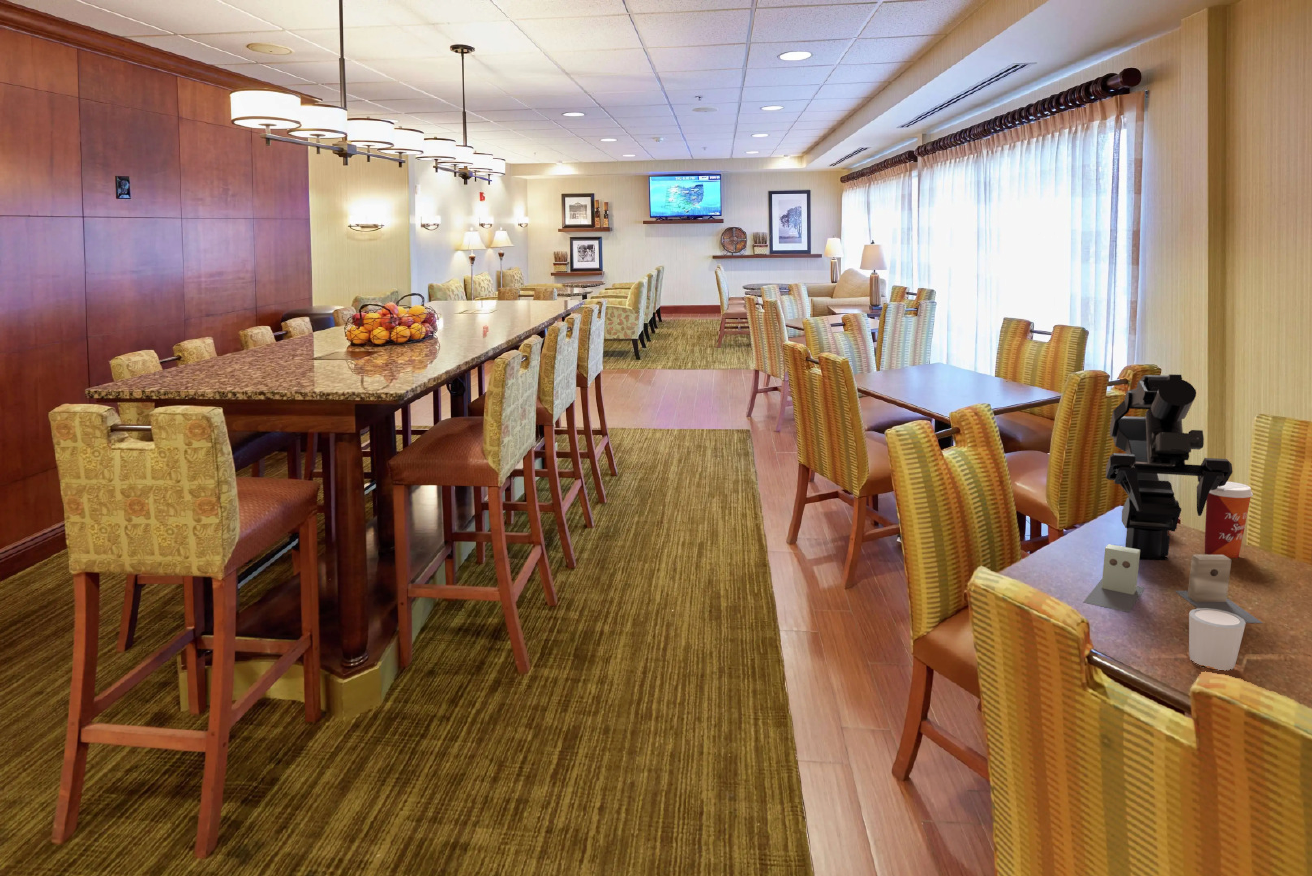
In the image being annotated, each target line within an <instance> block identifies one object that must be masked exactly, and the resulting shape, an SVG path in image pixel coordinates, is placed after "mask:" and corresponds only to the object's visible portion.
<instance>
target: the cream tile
mask: <svg viewBox="0 0 1312 876" xmlns="http://www.w3.org/2000/svg"><path fill="white" fill-rule="evenodd" d="M1190 563H1191V564H1190V571H1189V572H1190V573H1189V580H1188V589H1187V591H1188V597H1190V598H1191V599H1192V600H1194V601H1195V602H1226V600H1227V598H1228V589H1229V583H1230V582H1229V581H1230V574H1231V565H1232V558H1228V557H1226V556H1225V555H1207V554H1192V555H1191V561H1190Z"/></svg>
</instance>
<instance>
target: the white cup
mask: <svg viewBox="0 0 1312 876" xmlns="http://www.w3.org/2000/svg"><path fill="white" fill-rule="evenodd" d="M1246 624H1247V623H1246V622H1245V621H1244V619H1242V618H1241V617H1239V616H1238V615H1235V614H1233V613H1230V612H1227V611H1222V610H1218V609H1210V608H1195V609H1191V610H1190V611H1189V613H1188V658H1189V657H1190V658H1189V660H1190V661H1191V660H1192V661H1194V662H1195V663H1197V664H1199V665H1204V666H1210V667H1214V668H1215V669H1218V670H1217V671H1219V670H1224V671H1223V672H1225V671H1226V670H1227V671H1231V670H1234V669H1235V667H1236V663H1237V660H1238V657H1239V656H1238V655H1239V651H1240V648H1241V643H1242V640H1243V636H1244V633H1245V632H1244V631H1245V628H1246ZM1192 661H1191V662H1192ZM1194 662H1193V663H1194ZM1195 663H1194V664H1195ZM1197 664H1196V665H1197ZM1199 665H1198V666H1199ZM1230 669H1231V670H1230Z"/></svg>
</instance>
